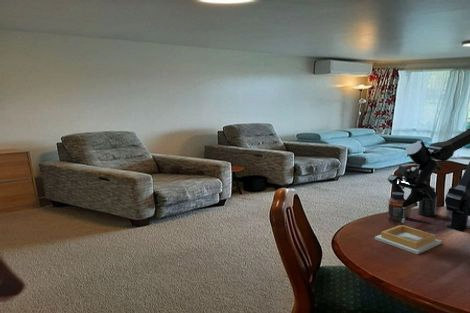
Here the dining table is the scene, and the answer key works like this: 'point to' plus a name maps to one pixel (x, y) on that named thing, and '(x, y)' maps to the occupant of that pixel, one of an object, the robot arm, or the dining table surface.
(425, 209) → the supplement bottle
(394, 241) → the plate
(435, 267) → the dining table surface
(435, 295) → the dining table surface
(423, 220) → the dining table surface
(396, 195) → the supplement bottle
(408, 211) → the oil lamp
